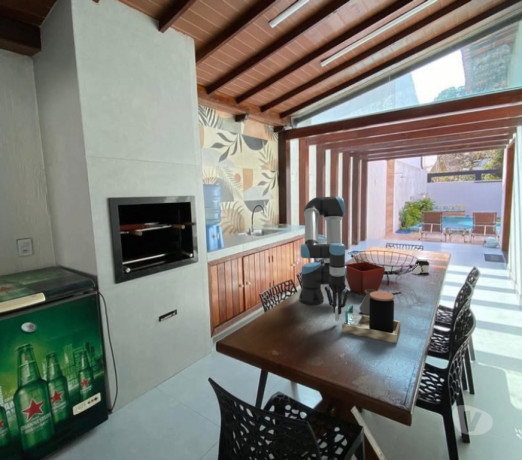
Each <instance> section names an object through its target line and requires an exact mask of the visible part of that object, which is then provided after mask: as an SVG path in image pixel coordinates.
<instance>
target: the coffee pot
mask: <svg viewBox="0 0 522 460" xmlns="http://www.w3.org/2000/svg"><path fill="white" fill-rule="evenodd" d="M371 292H375V290H365V293H366V294H365V296H364V298H363V300H362V302H361V304H360V306H359V310H360V312H361V313H362V315H366V316H369V305H370V298H371V297H370V293H371ZM390 293H391V294H393V295H394V296H395V295H396V296H397V295H400V296H401V297H403V293H402V291H399V292H398V291H397V292H390Z"/></svg>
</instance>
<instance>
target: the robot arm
mask: <svg viewBox="0 0 522 460" xmlns="http://www.w3.org/2000/svg"><path fill="white" fill-rule="evenodd" d="M345 205H346V204H345V201H344V198H343V197H342V196H337V195H336V196H318V197H317V196H316V197H314V198H312V199H310V200H309V201H308V202H307V204H306V205H305V206H304V209H303V217H304V219H305V220H304V223H305V224H304V244H303V243H302V244H301V245H300V257H301V258H302V259H326V260H325V261H324V265H322V264H321V262H316V261H313V262H307V263H305V264H303V265H302V266H301V289H300V293H299V297H298V299H299V300H298V301H299V303H302V304H305V305H311V306H312V305H314V306H315V305H320V304H322V303H324V302H325V295H324V293H323V291H322V285H324V291H325V293H326V296H327V300H328V305H329V306H331V307H332V312H333V314H334V321H337V322H338V321H339V320H340V315H341V314H342V309H343V308H345V306H346V304H347V300H348V297H349V293H350V292H351V291H352V290H351V289H350V288H348V287H347V285H346V280H347V279H346V271H347V270H346V269H347V267H346V266H345V265H346V245H345V244H344V243H342V238H341V235H342V234H341V230H342V229H341V221H342V219H344V218H343V217H344V216H346V206H345ZM320 216H323V220H325V223H326V224H325V225H326V226H325V229H326V232H325V234H326V236H325V237H326V240H325V241H326V243H319V217H320ZM331 291H332V293H331ZM343 292H344V296H343ZM342 298H343V299H342Z"/></svg>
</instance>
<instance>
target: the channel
mask: <svg viewBox="0 0 522 460" xmlns="http://www.w3.org/2000/svg"><path fill="white" fill-rule="evenodd" d="M353 314H355V315H361V316H362V323H361V325H360V327H357V326H352V325H347V324H344V323H342V324H341V332H342V333H343V334H349V335H352V336H353V335H354V336H359V337H364V338H368V339H373V340H378V341H381V342H387V343H392V344H397V343H398V340H399V336H400V332H401V321H400V320H395V319H394V331H393V333H388V332H383V331H378V330H373V329H370V328H369V316H366V315H364V314H359V313H354V312H353Z"/></svg>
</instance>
